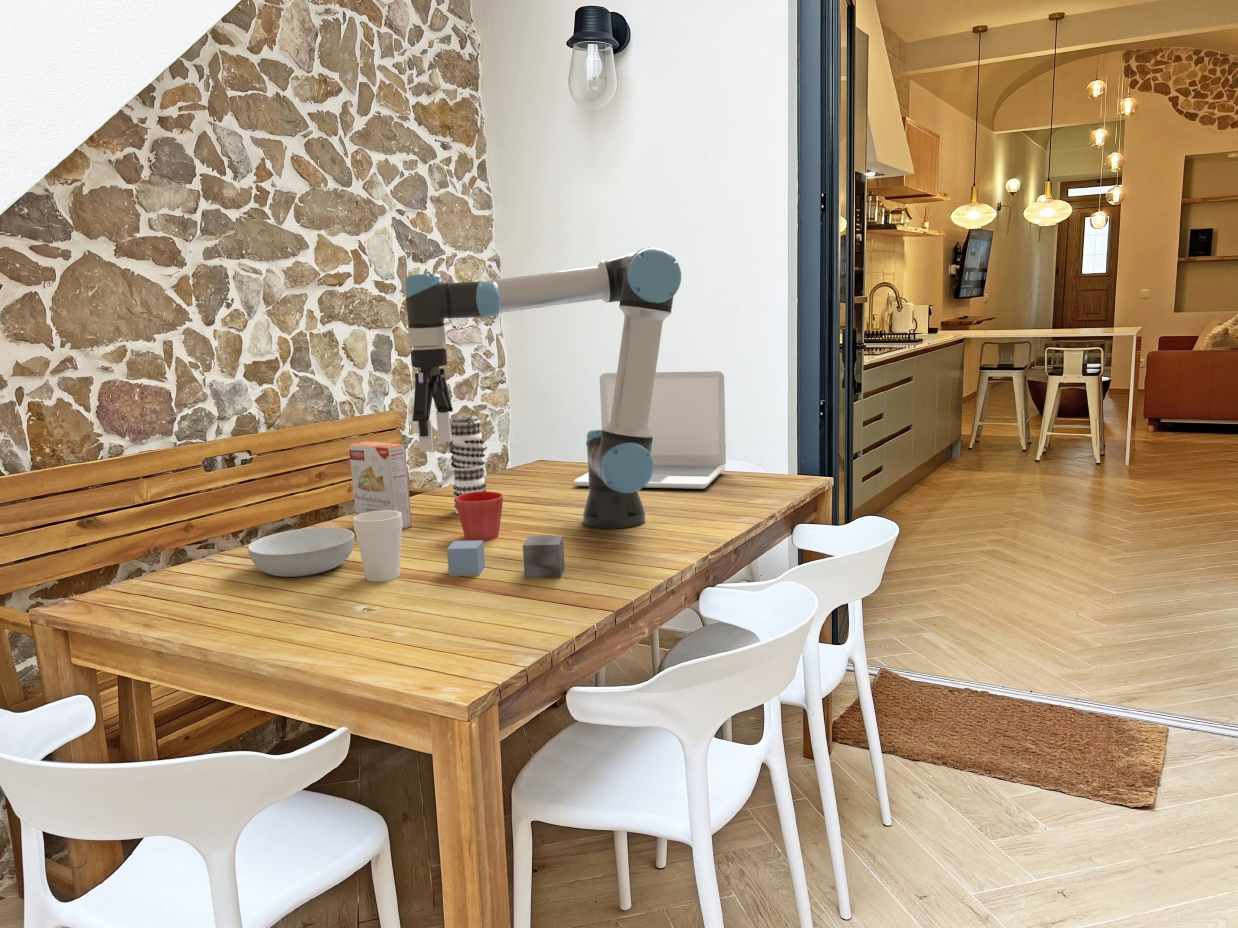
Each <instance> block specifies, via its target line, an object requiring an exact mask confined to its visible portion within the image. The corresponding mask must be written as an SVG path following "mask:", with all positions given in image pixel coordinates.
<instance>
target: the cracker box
mask: <svg viewBox="0 0 1238 928" xmlns="http://www.w3.org/2000/svg"><path fill="white" fill-rule="evenodd" d="M348 448H349V450H348V451H349V461H350V462H349V463H350V470H351V479H352V480H351V481H352V490H353V502H354V512H355V516H356V515H358V514H362V513H366V512H372V511H384V510H390V511H398V512H401V513H402V519H403V526H402V531H403V530H406V529H409V528H411V527H413V526H412V525H413V523H412V514H411V513H412V512H411V501H410V489H409V487H410V486H409V477H408V465H407V453H406V452H407V451H406V444H402V443H388V442H377V441H368V440H367V441H361V442H354V443H350V444H349V445H348Z"/></svg>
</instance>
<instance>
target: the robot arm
mask: <svg viewBox="0 0 1238 928" xmlns="http://www.w3.org/2000/svg"><path fill="white" fill-rule="evenodd" d="M404 282H405V283H404V286H405V287H404V288H405V289H404V290H405V305H406V316H407V325H408V333H407V334H406V337H407V338H409V346H410V347H411V348H412V349H411V350H410V364H411V366H412V368H417V369H418V368H419V369H420V372H416V373H414V382H415V384H414V385H415V386H414V399H413V415H412V421H413V422H416V423H417V430H418V431H417V432H418V440H419V441H418V444H419V452H420V453H424V452H426V453H428V452H430V453H432V452H434V441H433V440H434V439H433V427H432V426H433V425H432V420H431V419H430V417H431V409H432V402H434V404H435V408H436V410H437V412H436V413H435V414H436V425H437V426H436V427H437V438H438V439H437V441H438V443H446V442H448V443H450V442H451V441H452V440H451V433H452V432H451V424H450V423H451V422H450V421H451V419H450V412H453V410H454V408H453V407H452V405H453V404H452V401H451V396H450V393H449V388H448V384H447V379H446V370H445V368H440V367H445V366H446V365H448V357H447V355H448V353H447V349H446V348H444V346H446V345H447V341H446V339H447V338H446V329H445V319H448V320H450V319H473V318H483V319H485V318H488V317H497V316H498V315H499V314H502V313H509V312H516V311H523V310H524V311H525V310H531V309H540V308H545V307H552V306H560V305H568V304H576V303H584V302H589V301H590V302H591V301H596V300H602V301H604V303H615V302H619V305H618V308H619V309H620V311H621V312H622V314H623V315H624V319H623V328H622V332H621V340H620V347H619V354H618V356H619V357H618V361H617V362H618V363H617V370H616V373H617V376H616V383H615V390H614V398H613V405H612V412H611V419H610V422H609V423H608V424H607V425H606V426H605V427H603V428H602V427H601V429H591V430H589V431H588V432H587V434H586V443H585V445H586V449H587V450H586V451H587V453H586V454H587V471H588V472H587V473H588V476H589V486H588V495H587V499H586V502H585V506H584V511H583V512H582V513H583V514H582V519H583V520H582V522H583V524H584V525H585V526H587V527H590V528H595V529H607V530H608V529H610V530H611V529H612V530H613V529H625V528H632V527H636V526H639V525H642V524H644V523H645V521H646V511H645V509H644V506H643V503H642V499H641V497H640V495H639V492H638V491H640V490H641V489H643V488H645V487H644V486H645V485H646V484H647V483H648V482H649V481H650V479H651V477H652V474H653V470H654V464H653V458H652V456H651V448H652V441H653V434H652V433H651V431H650V430H649V429H648V422H649V415H650V408H651V401H652V394H653V387H654V380H655V373H656V371H657V366H658V365H657V364H658V359H659V352H660V345H661V337H662V330H663V322H664V321H665V319H667V318H668V317H669V316H670V315H671V314H672V308H673V303H674V297H675V295H676V294H677V292H678V290H679V289H680V286H681V284H682V283H681V282H682V271H681V266H680V264H679V262H678V261H677V259H676V258H675V257H674V256H673V254H671V253H670V252H669V251H667V250H665V249H662V248H657V247H645V248H642V249H639V250H637V251H633V252H631V253H628V254H626V255H622V256H619V257H616V258H613V259H607V260H601V261H599V263H598V264H597V266H590V267H581V268H573V269H567V270H559V271H552V272H545V273H544V272H543V273H537V274H528V275H523V276H516V277H515V276H514V277H509V278H501V279H500V278H499V279H492V280H480V281H463V282H443V281H442V279H441V275H440V274H438V273H420V274H419V273H416V274H409V275H408V276H406V278H405V280H404Z"/></svg>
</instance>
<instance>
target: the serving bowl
mask: <svg viewBox="0 0 1238 928" xmlns="http://www.w3.org/2000/svg"><path fill="white" fill-rule="evenodd" d="M355 536H356V534H355V533H354V532H353V531H352V530H350V529H348V528H342V527H332V526H329V527H327V526H325V527H323V526H322V527H318V526H317V527H307V528H297V529H291V530H285V531H281V532H277V533H273V534H269V535H266V536H263V537H261V538H257V539H255V540H254V541H252V542H251V543H249V545H248V546H247V551H248V555H249V557H250V560H251V562H252V563H253V564H254V566H255V567H256V568H258V569H259V570H260V571H262V572H263V573H264V574H265V573H266V574H268V575H271V576H275V577H282V578H283V577H285V578H296V577H297V578H298V577H307V576H314V575H317V574H320V573H325V572H327V571H330V570H332V569H335V568H337V567H339V566H340V565H342V564H343V563H344V562H345V561H346V560H347V559H349V556H351V553H352V551H353V548H354V545H355Z"/></svg>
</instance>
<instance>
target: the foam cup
mask: <svg viewBox="0 0 1238 928" xmlns="http://www.w3.org/2000/svg"><path fill="white" fill-rule="evenodd" d="M352 525H353V531H354V532H355V536H356V540H357V544H358V549H359V554H360V557H361V562H362V566H363V570H364V576H365V579H366V581H369V582H371V581H372V582H373V583H379V582H380V583H381V582H382V583H383V581H384V582H388V581H389V580H390V581H394V580H396V579H398V578H399V577H400V575H401V552H402V533H403V530H402V526H403V519H402V513H401V512H398V511H390V510H384V511H372V512H366V513H362V514H358V515H356V514H355V515H354V516H352ZM398 576H399V577H398ZM397 577H398V578H397Z"/></svg>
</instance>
